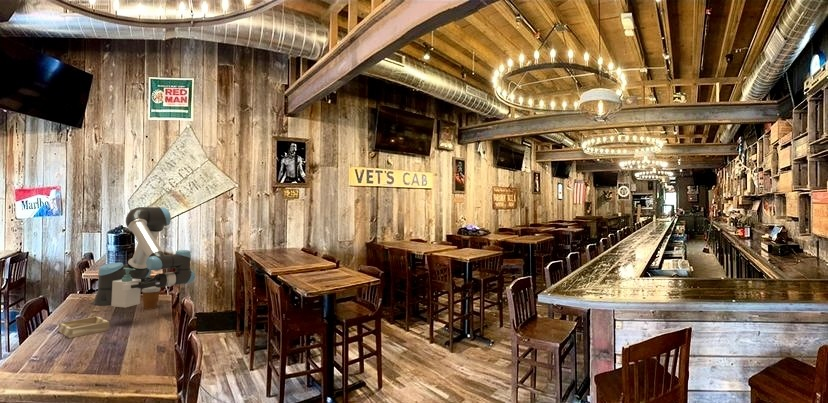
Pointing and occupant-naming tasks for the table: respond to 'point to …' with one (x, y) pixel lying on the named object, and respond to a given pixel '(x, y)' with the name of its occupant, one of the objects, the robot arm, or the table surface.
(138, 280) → the soap bottle
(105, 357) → the table surface
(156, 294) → the disposable coffee cup
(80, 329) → the caddy
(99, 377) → the table surface
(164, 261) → the robot arm
